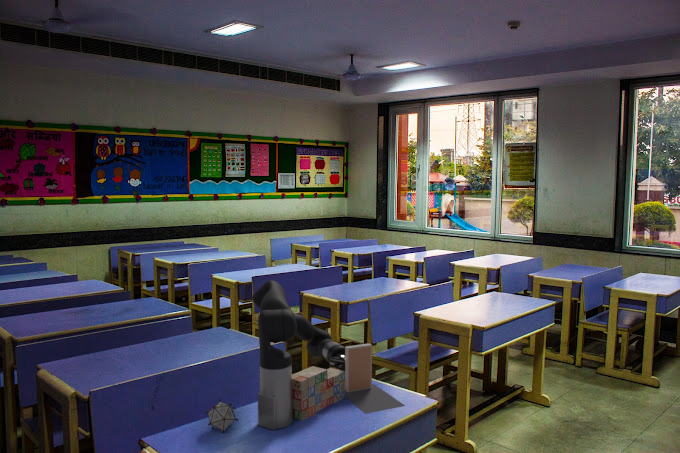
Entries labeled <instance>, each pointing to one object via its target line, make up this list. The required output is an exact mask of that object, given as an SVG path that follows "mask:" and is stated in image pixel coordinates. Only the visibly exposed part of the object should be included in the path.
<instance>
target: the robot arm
mask: <svg viewBox="0 0 680 453" xmlns="http://www.w3.org/2000/svg"><path fill="white" fill-rule="evenodd" d="M251 299H252V302H253V303H254V305H255V306H256V307H257V308H258V309H259V310H260V312H259V314H258V318H257V320H258V321H257V328H258V330H257V331H258V342H259V392H258V393H257V420H258V422H257V423H258V426H260V427H263V428H265V429H266V428H267V429H269V430H273V431H276V430H277V429H283V428H287V427H289V426H290V425H292V423H293V418H292V374H293V368H292V365H293V363H292V361H293V360H292V358H293V357H292V354H290V353H289V352H287V351H285V350H282V349H280V348H276V347H275V346H273V345H272V344H271V343H283V342H289V341H292V340H294V338H295V336H297V337H298V338H299V339H300V340H302V341H304V342H307V341H308V342H307V344H306V350H307V352H308V353H309V354H310V355H311V356H314V357H317V358H324V360H326V361H327V362H328V363H329V368H334V369H340V370H342V369H343V370H345V347H346V346H343V345H342V344H340V343H338V342H336V341H334V340H332V335H331V334H330V333H329V332H328V331H326V330H325V329H321V328H319V327H317V326H315V325H313V323H311V322H310V321H309V320H308V319H307V318H306V317H305V316H303V315H301V314H298V313H294V311H293V310H292V309H291V308H290V305H289V303H288V301H287V294H286V291H285V290H284V288H283V286H282V285H281V284H280V283H279V282H277V281H276V280H272V279H271V280H270V279H269V280H267V281H266V282H265V283H264V284H262V286H260V288H258V289H257V290H256V291H255V292H254V293H253V295H252V296H251Z"/></svg>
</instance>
